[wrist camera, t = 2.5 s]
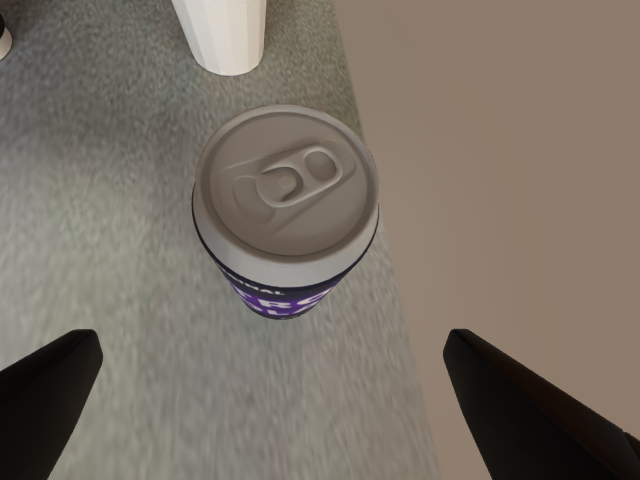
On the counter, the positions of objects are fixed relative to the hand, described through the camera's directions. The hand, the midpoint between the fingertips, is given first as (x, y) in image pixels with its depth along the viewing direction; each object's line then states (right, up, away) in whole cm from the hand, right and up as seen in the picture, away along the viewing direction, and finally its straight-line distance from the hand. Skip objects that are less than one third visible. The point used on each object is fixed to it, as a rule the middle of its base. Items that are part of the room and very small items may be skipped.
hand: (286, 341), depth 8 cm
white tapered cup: (-7, +18, +17) cm, 26 cm away
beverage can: (-2, 0, +12) cm, 12 cm away
